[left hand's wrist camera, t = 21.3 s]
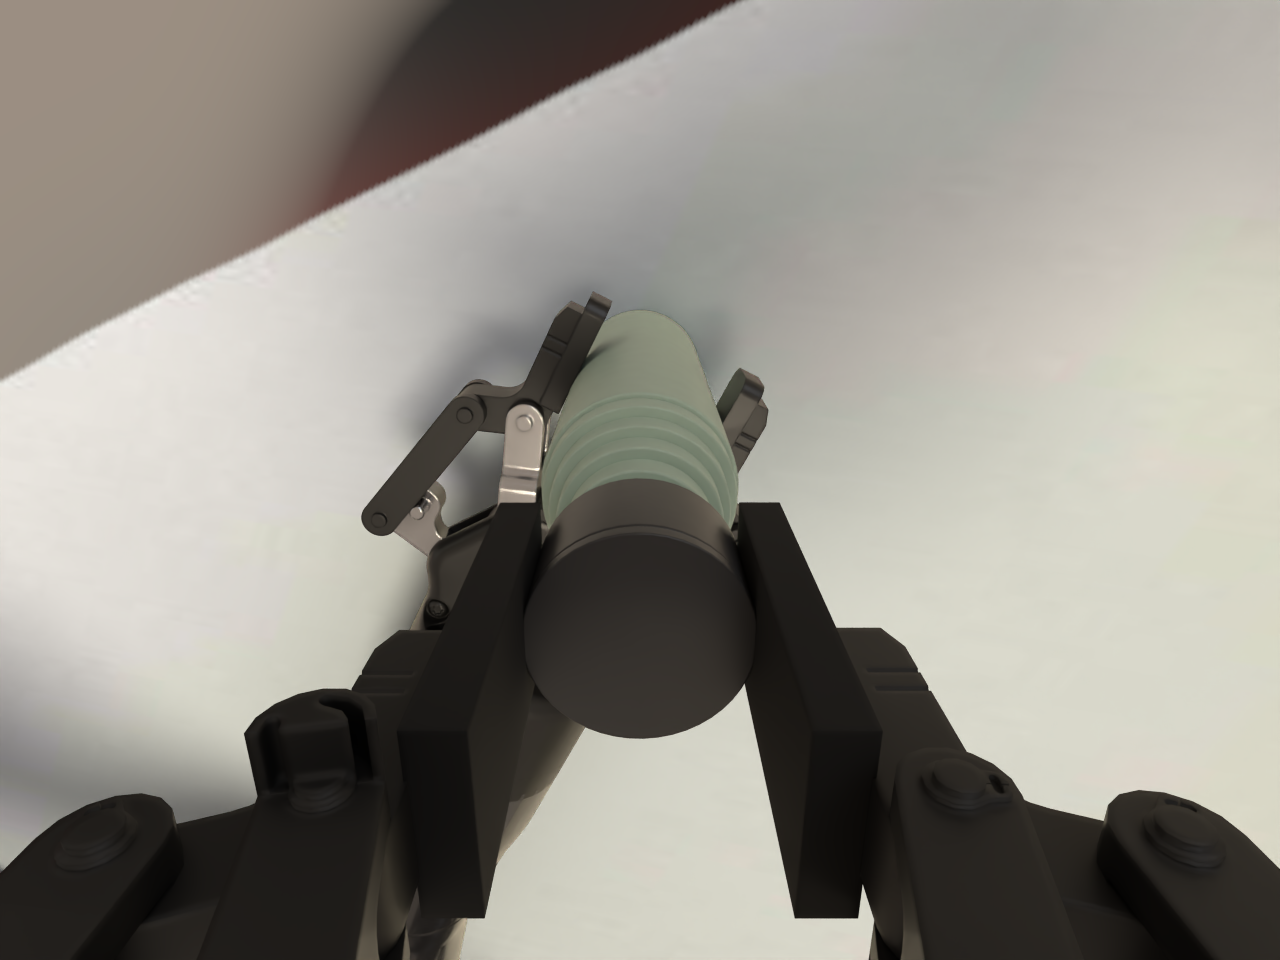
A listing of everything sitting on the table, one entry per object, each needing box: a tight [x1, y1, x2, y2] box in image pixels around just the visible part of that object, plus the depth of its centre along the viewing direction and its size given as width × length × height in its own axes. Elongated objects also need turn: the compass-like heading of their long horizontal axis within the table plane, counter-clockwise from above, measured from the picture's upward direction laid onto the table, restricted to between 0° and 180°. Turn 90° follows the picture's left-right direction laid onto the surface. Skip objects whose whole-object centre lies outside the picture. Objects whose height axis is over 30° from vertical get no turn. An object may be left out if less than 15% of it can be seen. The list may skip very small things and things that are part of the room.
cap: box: [523, 478, 756, 739], centre depth 13 cm, size 4×4×2 cm
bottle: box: [541, 310, 738, 530], centre depth 22 cm, size 5×5×20 cm
